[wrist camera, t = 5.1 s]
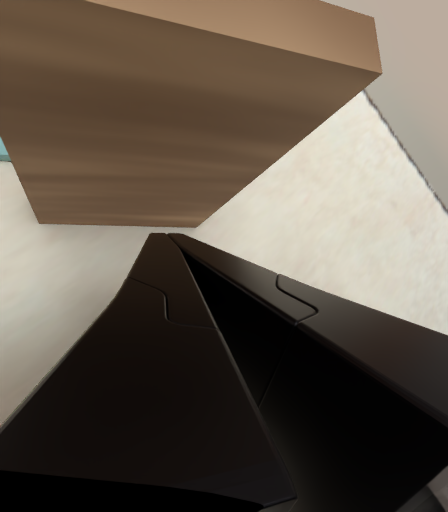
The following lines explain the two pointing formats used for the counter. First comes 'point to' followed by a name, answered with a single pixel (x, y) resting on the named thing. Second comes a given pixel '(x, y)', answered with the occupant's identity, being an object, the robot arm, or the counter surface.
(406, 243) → the counter surface
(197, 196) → the walnut tile
